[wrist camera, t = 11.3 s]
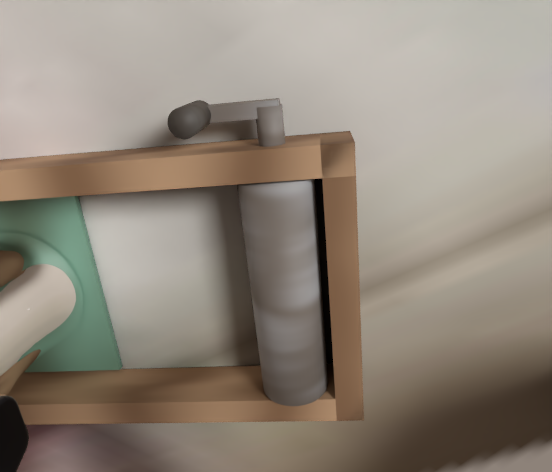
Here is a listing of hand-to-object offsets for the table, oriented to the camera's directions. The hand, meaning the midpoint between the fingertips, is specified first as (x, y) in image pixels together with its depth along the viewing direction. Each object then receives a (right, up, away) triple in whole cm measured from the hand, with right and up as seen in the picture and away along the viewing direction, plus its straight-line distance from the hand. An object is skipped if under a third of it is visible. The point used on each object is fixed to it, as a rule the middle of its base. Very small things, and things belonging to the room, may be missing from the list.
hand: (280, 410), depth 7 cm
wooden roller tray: (-6, +1, +14) cm, 16 cm away
